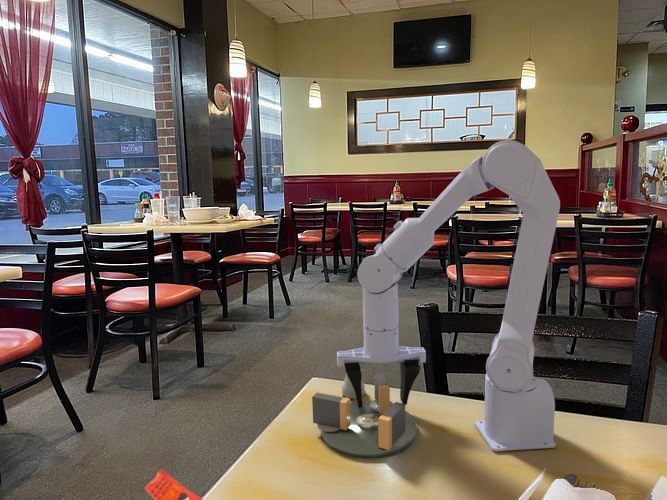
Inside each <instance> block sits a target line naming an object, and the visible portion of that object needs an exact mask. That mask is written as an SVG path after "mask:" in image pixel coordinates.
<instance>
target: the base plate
mask: <svg viewBox="0 0 667 500" xmlns="http://www.w3.org/2000/svg"><path fill="white" fill-rule="evenodd" d="M371 402H372V401H362V407H361V408H358V405H357V401H355V402H350V426H349V428H348V429H347V430H342V429H340V430H338V431H336V432H324V431H321V430H320V435H321V438H322V441H323V443H324V444H325V445H326V446H327V447H329V448H330V449H331V450H333V451H335V452H336V453H338V454H342V455H344V456H348V457H350V458H351V457H352V458H355V459H356V458H357V459H368V460H370V459H382V458H383V459H384V458H389V457H392V456H394V455H395V456H396V455H398V454H401V453H402V452H404V451H406V450H407V449H409V448H410V447H411V446H412V445H413V443H414V442H415V441H416V438H417V423H416V420H415V418H414V417H413V415H412V414H411V413H409V411H407V410H405V432H404V435H405V436H406V437H407V442H406V444H405V445H403V446H401V447H397V448H390V450H387V449H383V448H380V447H379V440H378V418H379V417H380V416H381V415H382V414H380V413H379V412H376V411H374V410H372V409H371V408H370V403H371Z"/></svg>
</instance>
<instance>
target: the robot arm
mask: <svg viewBox="0 0 667 500" xmlns="http://www.w3.org/2000/svg"><path fill="white" fill-rule="evenodd" d="M494 188H496V189H498V190H499V191H500V192H503V193H504V194H506V195H507V196H509V197H510V199H511V201H512V202H513V203H514V204H515V205H516V206H517V208H518V209H519V210H520V212H521V213H522V219H521V224H520V230H519V235H518V240H517V244H516V245H517V246H516V250H515V255H514V260H513V264H512V270H511V274H510V279H509V286H508V291H507V295H506V301H505V305H504V310H503V315H502V321H501V326H500V330H499V332H498V333H497V335H495V337H494V338H493V340H492V343H491V344H492V345H491V349H490V350H491V351H490V354H489V356H488V357H487V358H486V359H487V360H486V364H485V370H486V373H485V378H484V379H485V380H484V381H485V382H484V409H483V410H484V412H483V413H484V414H483V415H484V419H483V420H476V421H474V426H475V427H476V429H477V430H478V431H479V433H480V434H481V436H482V437H483V439H484V440H485V442H486V443H487V445H488V446H489V448H490V449H491V451H493V452H505V451H506V452H507V451H508V452H509V451H519V450H520V451H521V450H536V449H537V450H538V449H539V450H540V449H552V448H556V446H557V445H556V443H555V441H554V435H555V434H554V431H555V413H556V412H555V410H556V409H555V408H556V401H555V395H554V392H553V389H552V387H551V386H550V384H549V382H548V381H547V380H545V379H544V378H537V377H536V376H534V367H533V365H534V357H535V353H536V350H535V345H534V344H535V343H534V342H533V338H534V331H535V328H536V321H537V317H538V314H539V313H538V312H539V308H540V303H541V298H542V295H543V294H542V293H543V288H544V286H545V285H544V284H545V280H546V275H547V271H548V267H549V261H550V257H551V256H550V255H551V251H552V248H553V247H552V246H553V242H554V238H555V233H556V228H557V224H558V219H559V215H560V214H559V213H560V208H561V200H560V197H559V195H558V193H557V191H556V189H555V188H554V185H553V183H552V181H551V179H550V177H549V175H548V173H547V171H546V169H545V167H544V165H543V162H542V161H541V159H540V158H539V156H537V155H536V154H535V153H534V152H533V151H532V150H531V149H529V148H528V146H526V145H525V144H523V143H521V142H518V141H516V140H511V139H510V140H508V139H507V140H501V141H498V142H496V143H494V144H492V145H491V146H490V147H489V148H488V149H487V150H486V151H485V153H484V155H483V156H479V157H477V158H476V159H474V160H473V161H472V162H471V163H470V164H468V165H467V166H466V167H465V168H464V169H463V170H462V171H461V172H460V173H458V175H457V176H456V177H455V178H454V179H453V180H452V181H451V182H450V183H449V184H448V185H447V187H446V188H445V189H444V190H443V191H442V192H441V193H440V194H439V195H438V197H437V198H436V199H435V200H434V201H433V202H432V203H431V204H430V205H429V207H427V209H425V210H424V212H423V213H422V214H421V215H420V216H419V217H407V218H406V219H404V221H402V220H399V221H397V222H396V223H395V224H393V229H395V230H394V231H393V232H392V233H391V234H390V235H389V236H388V237H387V238H386V239H385V240H384V241H383V243H378V244H376V246H375V247H374V248H373V249H374V250H375V253H374V254H373V255H369V256H366V257H364V258H363V259H362V262H360V264H359V266H358V269H357V272H356V274H357V279H358V282H359V284H360V286H361V287H362V316H363V317H362V318H363V319H362V321H363V323H362V325H363V328H362V329H363V347H359V348H354V349H348V350H340V351H336V362H337V363H336V364H337V367H338V368H344V369H345V375H346V374H347V376H348V378H349V380H350V382H351V384H352V386H353V388H354V391H355V394H356V402H357V405H358V408H361V407H362V402H363V396H362V394H361V380H362V378H363V377H362V375H363V373H362V370H361V365H371V364H372V365H373V364H391V363H399V371H400V391H399V394H400V395H399V397H400V403H402V404H405V406H407V405H408V400H409V396H410V392H411V390H412V387H413V384H415V383H414V382H415V381H416V378H417V377H418V375H419V374H420V372H421V366H420V364H421V363H422V364H423V363H424V364H425V363H427V362H426V361H427V360H426V359H427V353H426V352H427V351H426V350H425V348H424V347H423V346H422V347H415V346H414V347H413V346H402V345H401V346H400V345H399V297H398V296H399V289H398V288H399V285H398V282H399V281H400V280H401V278H402V276H403V273H406V272H407V271H408V270H409V269H410V268H411V267H412V266H413V265H415V263H416V262H418V261H419V260H420V258H422V256H424V255H425V253H427V251H429V250H430V248H432V247H433V246H434V244H435V231H437V229H438V228H439V227H441V226H442V225H443V224H444V223H446V222H447V220H448V219H450V217H452V216H453V215H454V214H455V213H456V212H457V211H458V210H459V209H460V208H461V207H462V206H463V205H465V203H466V202H468V201H469V200H470V199H471V198H472V197H473V196H476V195H480V194H483V193H485V192H488V191H490V190H493V189H494ZM419 363H420V364H419ZM359 364H360V365H359Z"/></svg>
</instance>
